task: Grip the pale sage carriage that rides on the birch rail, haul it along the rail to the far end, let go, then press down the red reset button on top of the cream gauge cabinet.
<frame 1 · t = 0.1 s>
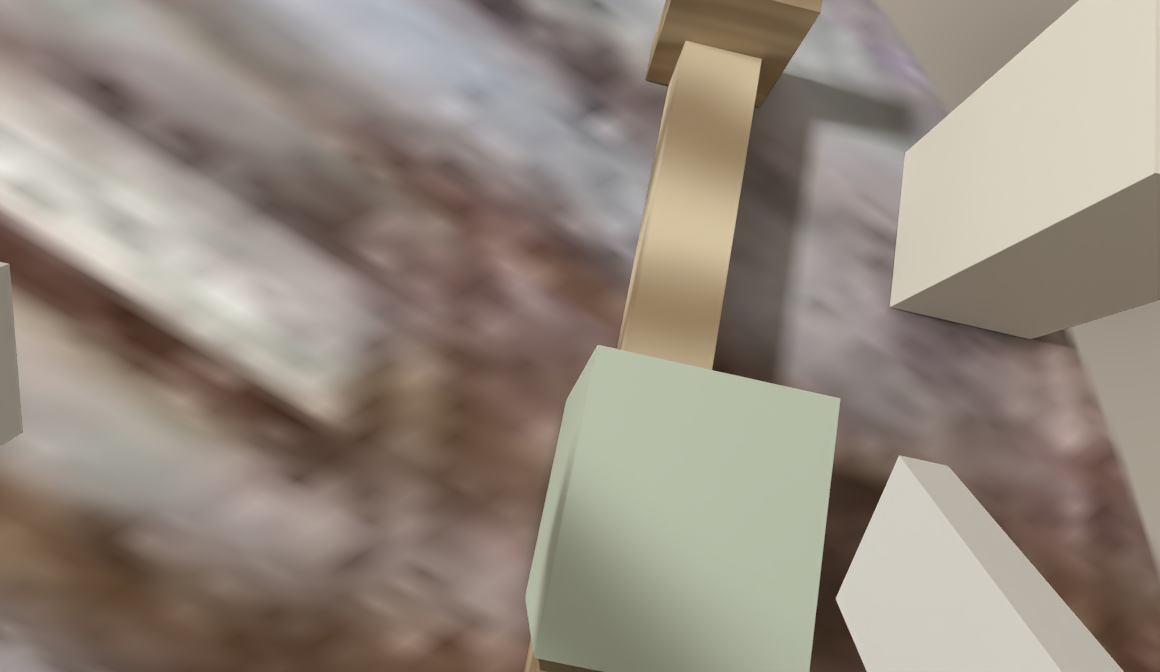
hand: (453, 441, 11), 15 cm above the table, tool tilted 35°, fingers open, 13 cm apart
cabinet: (966, 243, 29), on the table
carriage: (654, 515, 21), point 5 cm above the table, slide at 0.0 cm
rail: (658, 341, 27), on the table
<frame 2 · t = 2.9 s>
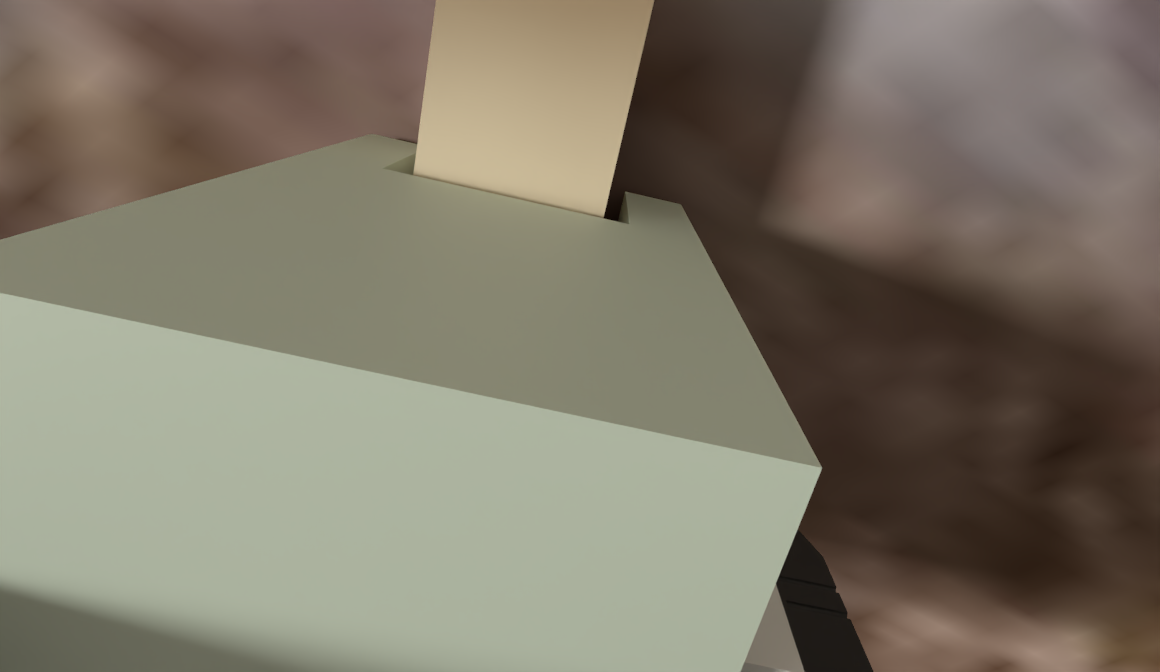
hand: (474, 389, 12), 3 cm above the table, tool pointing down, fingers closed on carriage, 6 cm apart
carriage: (448, 454, 10), point 5 cm above the table, slide at 0.0 cm, touching gripper
rail: (561, 0, 13), on the table
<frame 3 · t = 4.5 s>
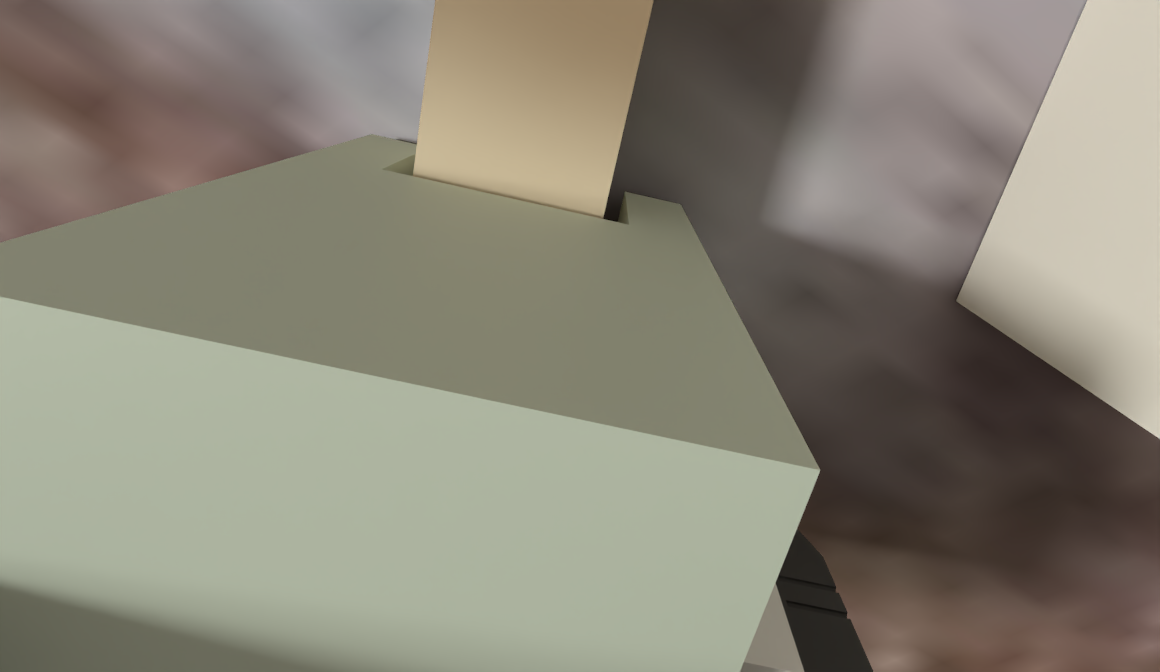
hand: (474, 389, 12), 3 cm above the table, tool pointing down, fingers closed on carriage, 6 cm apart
carriage: (447, 454, 10), point 5 cm above the table, slide at 7.2 cm, touching gripper
rail: (492, 362, 15), on the table
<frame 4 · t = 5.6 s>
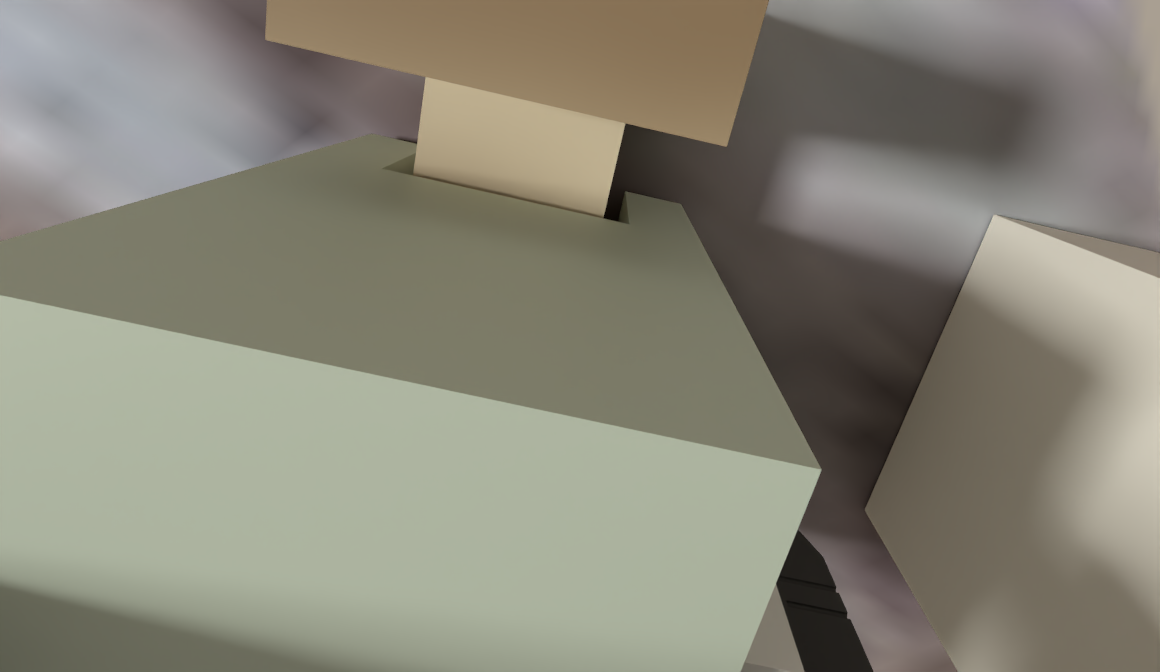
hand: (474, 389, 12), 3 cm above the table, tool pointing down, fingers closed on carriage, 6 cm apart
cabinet: (1057, 404, 15), on the table
carriage: (448, 454, 10), point 5 cm above the table, slide at 12.4 cm, touching gripper
rail: (456, 553, 17), on the table
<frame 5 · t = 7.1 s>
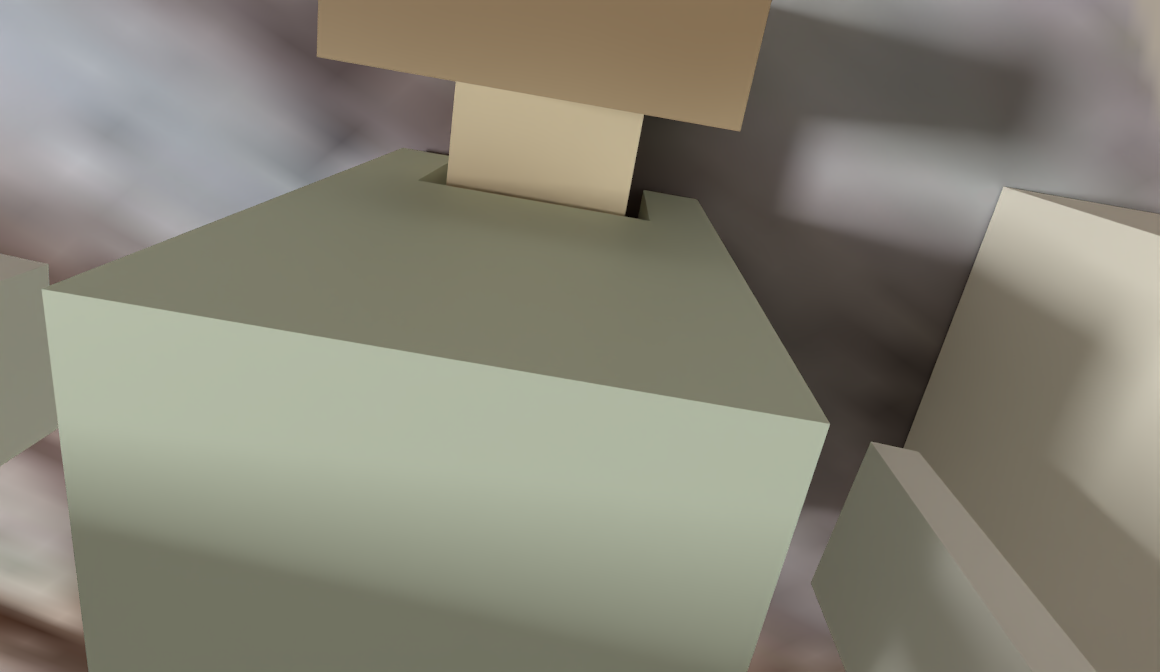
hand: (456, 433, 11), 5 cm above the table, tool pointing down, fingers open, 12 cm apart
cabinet: (1076, 369, 15), on the table
carriage: (490, 441, 11), point 5 cm above the table, slide at 12.2 cm
rail: (497, 537, 18), on the table
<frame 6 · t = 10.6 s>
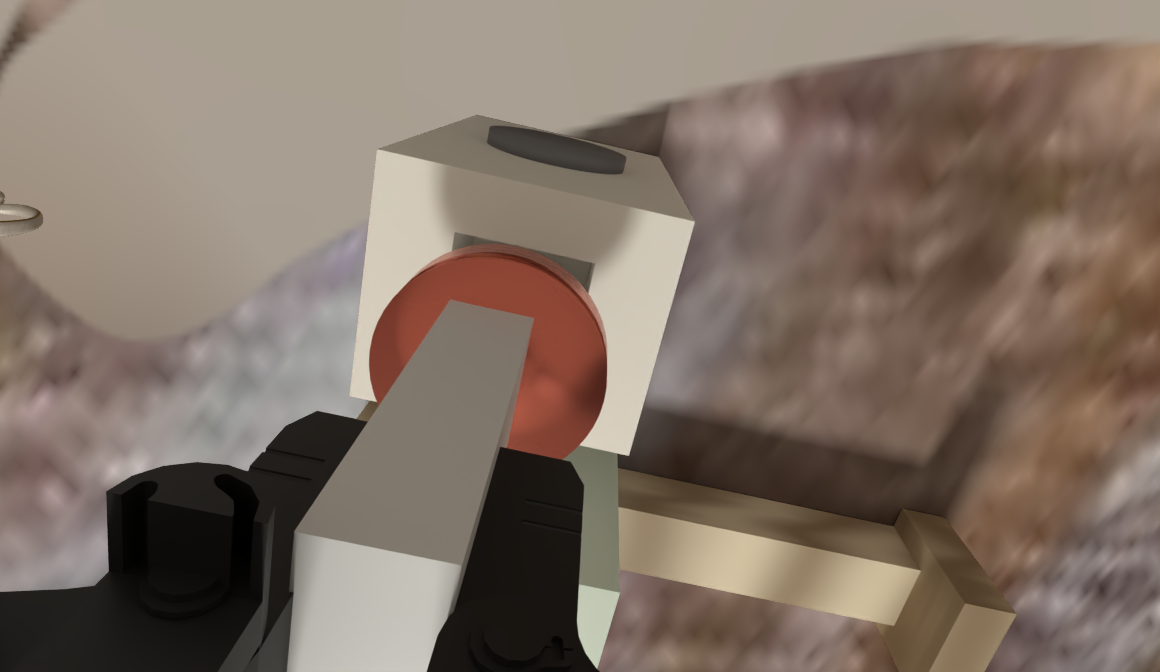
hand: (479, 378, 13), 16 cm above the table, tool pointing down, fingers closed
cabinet: (552, 213, 27), on the table
reset button: (504, 334, 15), point 13 cm above the table, slide at 0.7 cm, touching gripper
carriage: (511, 549, 27), point 5 cm above the table, slide at 12.2 cm
rail: (649, 504, 32), on the table
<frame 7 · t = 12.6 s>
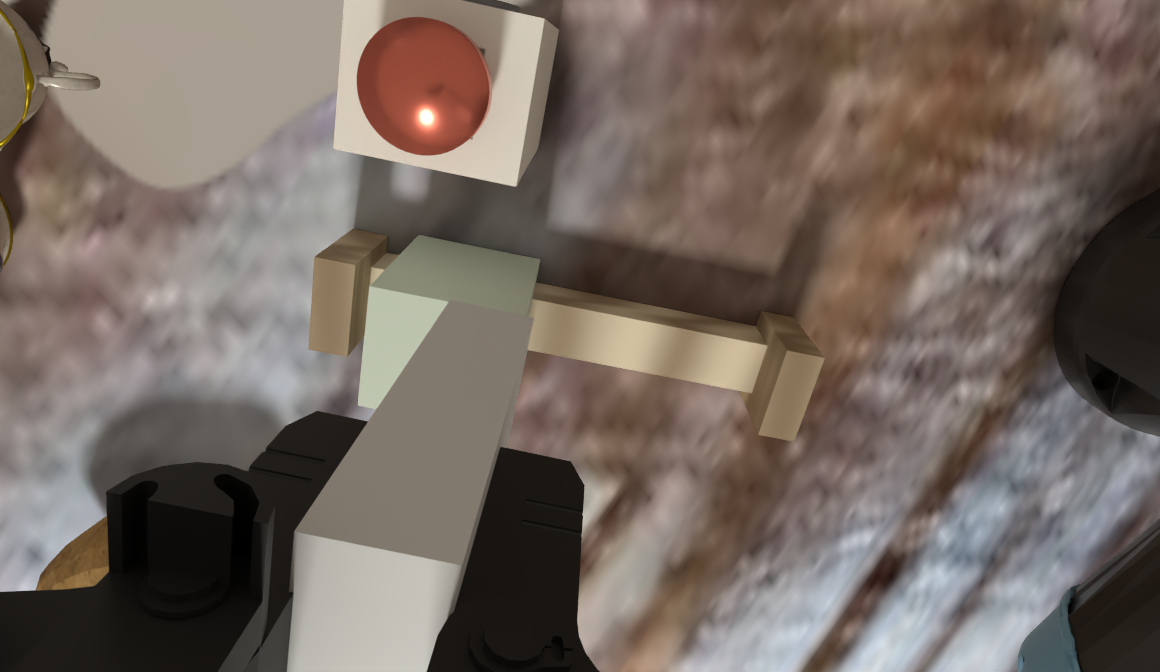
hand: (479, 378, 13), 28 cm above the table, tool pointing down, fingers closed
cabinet: (482, 76, 37), on the table
potato: (195, 532, 48), on the table
reset button: (435, 86, 26), point 12 cm above the table, slide at 2.0 cm
carriage: (457, 325, 37), point 5 cm above the table, slide at 12.2 cm
rail: (569, 313, 42), on the table
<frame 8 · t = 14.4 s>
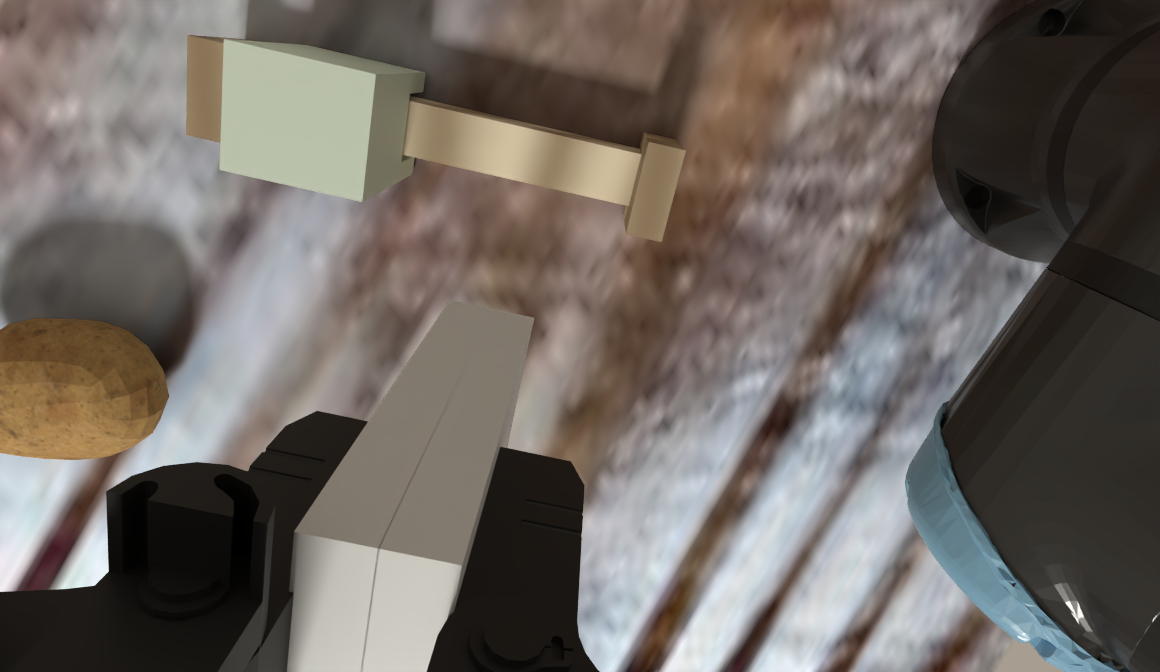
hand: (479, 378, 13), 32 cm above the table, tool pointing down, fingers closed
potato: (104, 364, 49), on the table
carriage: (332, 116, 38), point 5 cm above the table, slide at 12.2 cm
rail: (456, 132, 43), on the table
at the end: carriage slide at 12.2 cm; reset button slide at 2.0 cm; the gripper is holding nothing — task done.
